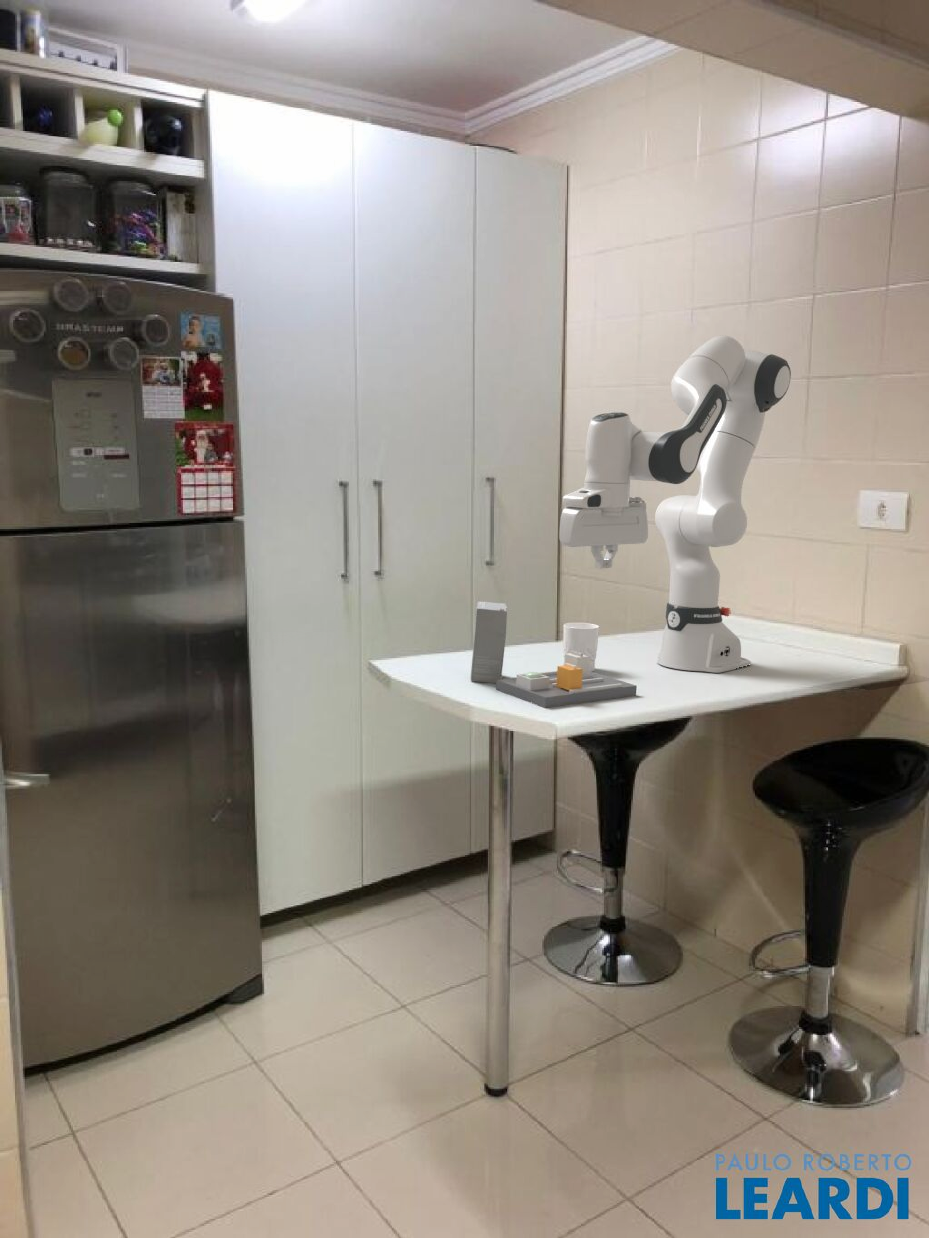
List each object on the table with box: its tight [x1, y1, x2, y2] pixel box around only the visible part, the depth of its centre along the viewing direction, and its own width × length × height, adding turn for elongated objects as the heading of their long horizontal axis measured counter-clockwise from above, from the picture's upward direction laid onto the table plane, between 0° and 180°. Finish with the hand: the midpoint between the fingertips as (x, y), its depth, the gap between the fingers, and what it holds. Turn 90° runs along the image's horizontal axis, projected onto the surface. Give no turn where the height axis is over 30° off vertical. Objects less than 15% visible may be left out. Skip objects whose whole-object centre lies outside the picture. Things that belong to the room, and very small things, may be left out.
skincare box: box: [470, 601, 508, 684], centre depth 209 cm, size 8×7×16 cm
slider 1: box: [565, 651, 589, 675], centre depth 207 cm, size 3×4×5 cm
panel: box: [496, 670, 637, 709], centre depth 200 cm, size 23×16×4 cm
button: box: [525, 671, 541, 679], centre depth 195 cm, size 3×3×2 cm
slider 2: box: [556, 662, 583, 690], centre depth 194 cm, size 3×4×5 cm
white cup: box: [562, 622, 600, 672], centre depth 222 cm, size 8×8×10 cm
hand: (603, 568), depth 197 cm, fingers closed
